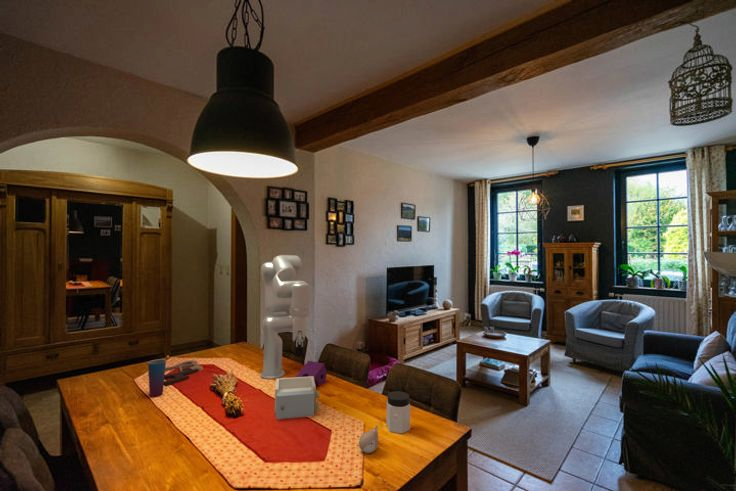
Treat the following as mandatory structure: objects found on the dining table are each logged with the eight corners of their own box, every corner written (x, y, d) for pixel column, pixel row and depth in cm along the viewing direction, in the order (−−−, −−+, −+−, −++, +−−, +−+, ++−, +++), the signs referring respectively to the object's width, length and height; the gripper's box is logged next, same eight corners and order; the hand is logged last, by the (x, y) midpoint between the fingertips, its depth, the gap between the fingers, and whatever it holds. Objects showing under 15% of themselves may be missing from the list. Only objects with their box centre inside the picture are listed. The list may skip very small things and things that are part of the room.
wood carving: (165, 387, 162) (214, 374, 180) (165, 383, 162) (214, 370, 180) (147, 373, 180) (193, 363, 198) (147, 369, 180) (193, 359, 198)
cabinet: (275, 401, 147) (276, 378, 147) (316, 398, 151) (317, 375, 151) (274, 416, 133) (275, 391, 134) (319, 412, 137) (320, 387, 138)
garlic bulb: (376, 457, 107) (377, 432, 108) (357, 455, 108) (357, 430, 109) (379, 446, 114) (379, 422, 114) (360, 444, 115) (361, 420, 115)
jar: (383, 431, 124) (384, 398, 124) (389, 420, 131) (389, 389, 132) (407, 435, 121) (408, 401, 121) (411, 424, 129) (412, 392, 129)
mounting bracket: (307, 405, 157) (328, 376, 172) (303, 391, 154) (324, 363, 169) (291, 401, 162) (312, 373, 177) (286, 387, 158) (308, 360, 173)
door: (276, 415, 135) (276, 392, 135) (313, 412, 138) (313, 389, 138) (275, 421, 130) (276, 397, 130) (314, 417, 134) (314, 394, 134)
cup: (143, 396, 150) (144, 362, 150) (158, 391, 156) (159, 358, 157) (154, 399, 147) (155, 364, 148) (168, 393, 154) (169, 360, 154)
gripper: (291, 308, 151) (290, 346, 151) (290, 316, 134) (289, 359, 134) (308, 308, 152) (307, 346, 152) (310, 316, 136) (308, 359, 136)
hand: (298, 352), depth 143 cm, fingers open, 9 cm apart
